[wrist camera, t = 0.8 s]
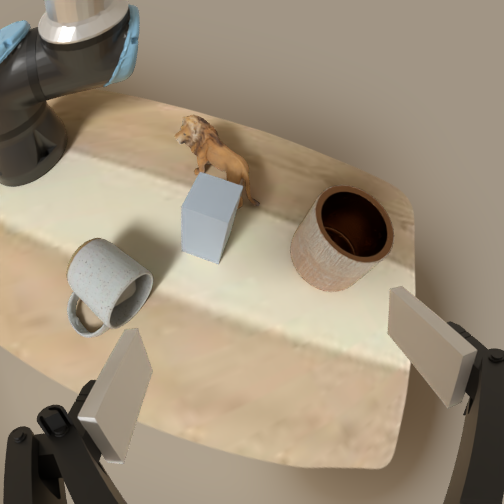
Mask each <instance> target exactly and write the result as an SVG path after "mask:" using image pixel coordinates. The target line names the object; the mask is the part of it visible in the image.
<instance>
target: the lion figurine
mask: <svg viewBox="0 0 504 504" xmlns="http://www.w3.org/2000/svg"><path fill="white" fill-rule="evenodd" d="M183 118H184V119H183V122H182V126H181V129H180V131H179V132H178V133H177V134H175V136H174V137H175V139H177V141H178V143H179V144H183V143H185V144H186V145H187V146H189V147H190V148H191V151H192V153H194V154H195V155H197V162H198V166H199V168H196V169H195V171H194V172H195V174H196V175H198V174H199V173H200V172H202V173H204V172H205V164H212V165H213V166H214V167H216V168H217V169H219V170H221V171H224V172H226V173H227V181H229V182H232V183H235V184H238V185H241V186H244V180H245V188H246V193H247V197H248V199H249V200H250V201H251V202H252V204H253V205H256V206H259V202H258V201H256V200H255V199H253V198H252V197H251V195H250V183H249V175H248V173H249V166H248V164H247V162H246V161H245V159H244V158H243V157H242V156H240V155H238V154H236V153H234V152H233V151H232V150H231V149H229V148H228V147H227V146H226V145H225V144H224V143H222V142H221V141H220V139H219V138H218V134H217V131H216V130H215V129H214V127H213V126H211V125H210V123H208V122H207V121H206V120H204V119H203V118H201V117H199V116H194V115H190V116H187V117H183ZM242 205H243V198H242V196H241V197H240V200H239V204H238V207H237V209H238V208H240V207H241V206H242Z"/></svg>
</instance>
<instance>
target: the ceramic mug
mask: <svg viewBox="0 0 504 504" xmlns="http://www.w3.org/2000/svg"><path fill="white" fill-rule="evenodd" d="M66 276H67V281H68V283H69V285H70V287H71V288H72V290H73V291H74V292H73V293H72V295H71V296H70V299H69V301H68V307H67V312H68V318H69V321H70V323H71V325H72V327H73V328H74V329H75V331H76V332H77V333H78V334H80V335H81V336H84V337H96V336H99V335H102V334H103V333H104V332H106V331H107V330H108V329H109V328H111V329H116V328H119V327H121V326H123V325H124V324H126V323H127V322H128V321H129V320H130V319H131V318H132V317H133V316H134V315H135V314H136V313H137V312H138V311H139V310H140V308H141V307H142V306H143V304H144V303H145V301H146V299H147V297H148V296H149V294H150V291H151V289H152V285H153V275H152V273H151V272H150V271H149V270H147V269H146V268H144V267H143V266H142V265H140V264H139V263H138V262H136V261H135V260H134V259H132V258H131V257H130V256H128V255H127V254H125V253H124V252H123V251H121V250H120V249H119V248H118V247H117V246H115V245H114V244H112V243H111V242H109V241H107V240H105V239H101V238H94V239H91V240H89V241H87V242H85V243H84V244H82V245H81V246H80V247H79V248H78V249H77V250H76V251H75V253H74V254H73V255H72V257H71V259H70V261H69V263H68V267H67V273H66ZM79 298H80V299H81V300H82V301H83V302H84V303H85V304H86V305H87V306H88V307H89V308H90V309H91V310H92V311H93V312H94V313H95V314H96V315H97V316H98V318H99V319H100V320H101V321H102V322H103V323H104V324H103V326H102V327H101V328H99V329H98V330H97V331H96V332H94V333H91V332H88V331H87V330H86V328H85V327H84V326H83V325H82V324H81V322H80V320H79V318H78V317H77V316H76V305H77V301H78V299H79Z"/></svg>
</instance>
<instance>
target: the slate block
mask: <svg viewBox="0 0 504 504" xmlns="http://www.w3.org/2000/svg"><path fill="white" fill-rule="evenodd" d="M242 189H243V186H241V185H238V184H235V183H232V182H229V181H226V180H223V179H220V178H217V177H214V176H211V175H208V174H205V173H202V172H200V173H199V174H198V176H197V178H196V180H195V182H194V184H193V186H192V188H191V189H190V191H189V193H188V195H187V197H186V199H185V201H184V203H183V205H182V251H183V252H186V253H189V254H191V255H194V256H197V257H200V258H202V259H205V260H208V261H211V262H214V263H216V264H219V262H220V259H221V256H222V254H223V251H224V248H225V246H226V243H227V241H228V238H229V236H230V233H231V230H232V226H233V222H234V218H235V215H236V211H237V207H238V204H239V200H240V197H241V193H242Z"/></svg>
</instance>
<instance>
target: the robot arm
mask: <svg viewBox="0 0 504 504" xmlns="http://www.w3.org/2000/svg"><path fill="white" fill-rule="evenodd" d="M44 2H45V7H46V12H45V13H44V14H43V16H42V17H41V19H40V21H39V24H38V27H36V28H33V29H30V28H31V27H30V24H29V23H28V22H27V21H25V20H24V21H23V20H22V21H20V22H15V23H12V24H10V25H8V26H6V27H4V28H2V29H0V183H1V184H3V185H5V186H21V185H24V184H27V183H30V182H32V181H34V180H36V179H38V178H39V177H41V176H42V175H44V174H45V173H46V172H47V171H49V170H50V169H51V168H52V167H53V166H54V165H55V164H56V163H57V161H58V160H59V159H60V157H61V156H62V154H63V152H64V150H65V148H66V145H67V134H66V130H65V127H64V124H63V122H62V121H61V119H60V118H59V117H58V116H57V115H56V113H55V112H54V111H53V110H52V109H51V107H50V106H49V105H48V104H47V102H46V100H50V99H53V98H57V97H61V96H64V95H68V94H72V93H76V92H81V91H85V90H89V89H94V88H98V87H106V86H108V85H110V84H113V83H116V82H121V81H124V80H126V79H128V78H129V77H130V76H131V74H132V73H133V70H134V68H135V64H136V58H137V51H138V36H139V10H138V8H137V7H136V6H134V5H128V0H44ZM388 335H389V336H390V337H391V338H392V339H393V341H394V342H395V343H396V344H397V346H398V347H399V348H400V349H401V350H402V352H403V353H404V354H405V355H406V356H407V358H408V359H409V360H410V361H411V363H412V364H413V365H414V366H415V367H416V369H417V370H418V371H419V372H420V374H421V375H422V376H423V377H424V379H425V380H426V381H427V383H428V384H429V385H430V386H431V388H432V389H433V390H434V391H435V393H436V394H437V395H438V396H439V398H440V399H441V400H442V402H443V403H444V404H445V406H446V407H447V408H450V407H452V406H455V405H457V404H459V403H461V402H462V399H463V397H464V394H465V392H466V393H467V394H468V395H469V396H470V398H469V401H468V403H467V406H466V409H465V411H464V414H463V415H466V417H465V422H464V427H463V433H462V437H461V442H460V446H459V451H458V455H457V459H456V463H455V467H454V470H453V474H452V477H451V481H450V485H449V487H448V491H447V494H446V497H445V500H444V503H443V504H502V499H503V494H504V351H503V350H501V349H489V350H488V349H487V348H486V347H485V346H483V345H482V344H481V343H480V342H479V341H478V340H477V339H475V338H474V337H473V336H471V335H470V334H469V333H468V332H466V331H465V329H463V328H462V327H461V326H460V325H457V324H455V323H453V322H447V323H446V322H445V321H444V320H442V319H441V318H440V317H439V316H438V315H436V314H435V313H434V312H433V311H432V310H430V309H429V308H428V307H426V305H424V304H423V303H422V302H421V301H420V300H418V299H417V298H416V297H415V296H414V295H412V294H411V293H410V292H409V291H407V290H406V289H405V288H404V287H402V286H401V287H396V288H392V289H390V297H389V318H388ZM152 372H153V370H152V367H151V364H150V362H149V359H148V356H147V353H146V350H145V347H144V345H143V342H142V339H141V336H140V333H139V330H138V328H135V329H125V330H124V332H123V334H122V335H121V337H120V339H119V341H118V342H117V344H116V346H115V348H114V349H113V351H112V353H111V355H110V356H109V358H108V360H107V362H106V364H105V365H104V367H103V369H102V371H101V373H100V374H99V376H98V378H97V380H90V381H89V382H88V383H87V384H86V385H85V386H83V388H82V390H81V392H80V393H79V396H78V397H77V399H76V402H74V404H73V406H72V408H71V410H70V412H69V413H68V414H67V412H66V410H65V409H64V408H63V407H62V406H60V405H51V406H48V407H46V408H44V409H43V410H42V411H41V412H40V413H39V414H38V416H37V422H38V424H39V425H40V427H41V428H42V430H43V431H44V432H45V434H37V435H34V434H33V432H32V431H31V430H30V428H28V427H25V426H24V427H18V428H16V429H14V430H13V431H12V432H11V433H10V435H9V437H8V442H7V451H6V460H5V474H4V504H67V500H66V493H65V486H64V482H65V484H66V486H67V488H68V491H69V492H70V495H71V497H72V499H73V501H74V503H75V504H127V503H126V501H125V500H124V499H123V497H122V496H121V494H120V493H119V491H118V490H117V488H116V487H115V485H114V483H113V482H112V480H111V479H110V477H109V476H108V474H107V472H106V471H105V469H104V468H103V466H102V465H101V463H100V462H99V460H100V457H101V454H102V455H103V457H104V458H105V460H106V461H107V462H109V463H119V464H124V462H125V458H126V455H127V451H128V448H129V444H130V441H131V438H132V435H133V431H134V428H135V425H136V422H137V418H138V415H139V412H140V409H141V406H142V403H143V399H144V396H145V393H146V390H147V387H148V384H149V381H150V378H151V375H152Z"/></svg>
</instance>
